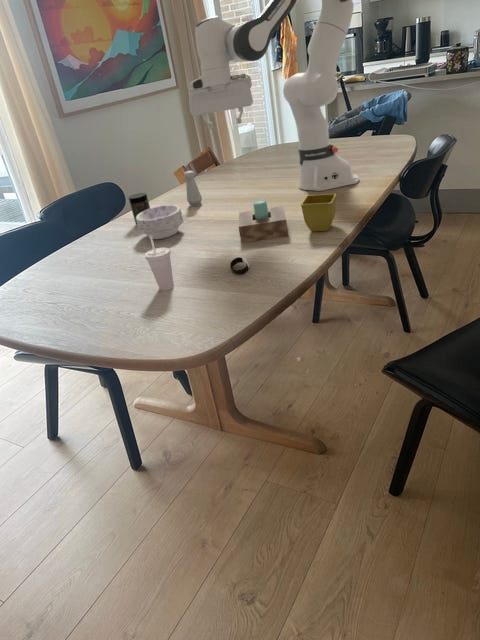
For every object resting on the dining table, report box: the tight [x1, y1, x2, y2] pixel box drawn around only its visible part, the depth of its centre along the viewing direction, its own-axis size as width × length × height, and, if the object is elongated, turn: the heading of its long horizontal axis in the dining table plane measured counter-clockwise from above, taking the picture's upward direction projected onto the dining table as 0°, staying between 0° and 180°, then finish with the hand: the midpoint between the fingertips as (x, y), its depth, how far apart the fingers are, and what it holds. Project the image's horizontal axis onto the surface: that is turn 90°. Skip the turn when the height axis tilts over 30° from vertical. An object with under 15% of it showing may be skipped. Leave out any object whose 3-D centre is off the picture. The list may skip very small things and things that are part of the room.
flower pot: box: [300, 193, 337, 232], centre depth 137 cm, size 9×9×9 cm
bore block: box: [237, 205, 289, 244], centre depth 144 cm, size 14×14×5 cm
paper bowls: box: [136, 204, 184, 240], centre depth 158 cm, size 15×15×8 cm
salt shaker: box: [183, 170, 203, 207], centre depth 183 cm, size 6×6×13 cm
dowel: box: [252, 200, 269, 220], centre depth 143 cm, size 4×4×8 cm
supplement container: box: [127, 192, 151, 226], centre depth 173 cm, size 7×7×10 cm
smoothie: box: [144, 236, 175, 291], centre depth 117 cm, size 6×6×14 cm
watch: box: [229, 256, 250, 276], centre depth 122 cm, size 8×5×4 cm, turn 17°
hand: (225, 125), depth 153 cm, fingers open, 8 cm apart
